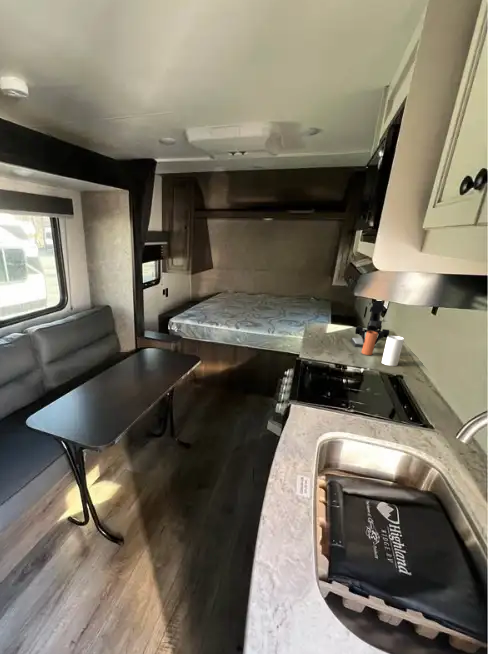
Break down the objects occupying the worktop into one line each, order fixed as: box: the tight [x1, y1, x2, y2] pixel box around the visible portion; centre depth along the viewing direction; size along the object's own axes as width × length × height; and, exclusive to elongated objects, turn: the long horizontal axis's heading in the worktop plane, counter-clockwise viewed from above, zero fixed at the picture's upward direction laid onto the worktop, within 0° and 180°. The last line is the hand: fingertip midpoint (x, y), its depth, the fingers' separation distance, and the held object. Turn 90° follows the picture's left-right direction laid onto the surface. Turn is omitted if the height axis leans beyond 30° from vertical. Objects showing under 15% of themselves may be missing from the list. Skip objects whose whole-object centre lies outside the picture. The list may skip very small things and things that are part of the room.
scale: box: [350, 337, 365, 348], centre depth 229 cm, size 15×11×3 cm
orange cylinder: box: [361, 331, 378, 356], centre depth 207 cm, size 6×6×14 cm
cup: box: [381, 335, 405, 367], centre depth 192 cm, size 8×8×16 cm
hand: (369, 343), depth 206 cm, fingers closed on orange cylinder, 6 cm apart
